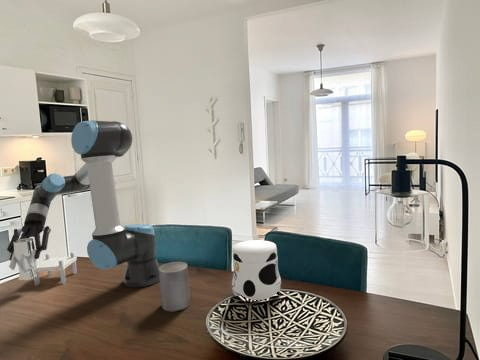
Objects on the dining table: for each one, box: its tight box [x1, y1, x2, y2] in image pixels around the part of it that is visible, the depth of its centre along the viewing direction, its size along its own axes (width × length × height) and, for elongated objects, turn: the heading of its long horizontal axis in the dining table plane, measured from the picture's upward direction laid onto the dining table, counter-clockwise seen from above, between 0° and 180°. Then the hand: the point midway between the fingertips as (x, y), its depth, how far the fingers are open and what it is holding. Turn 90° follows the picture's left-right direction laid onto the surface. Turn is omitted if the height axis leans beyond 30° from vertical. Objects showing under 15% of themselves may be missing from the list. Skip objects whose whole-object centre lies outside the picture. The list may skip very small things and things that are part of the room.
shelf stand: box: [33, 251, 78, 286], centre depth 151 cm, size 13×13×10 cm
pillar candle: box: [159, 261, 191, 313], centre depth 119 cm, size 10×10×15 cm
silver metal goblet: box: [14, 237, 37, 281], centre depth 137 cm, size 7×7×15 cm
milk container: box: [231, 239, 282, 300], centre depth 123 cm, size 17×17×18 cm
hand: (21, 267), depth 134 cm, fingers closed on silver metal goblet, 6 cm apart
